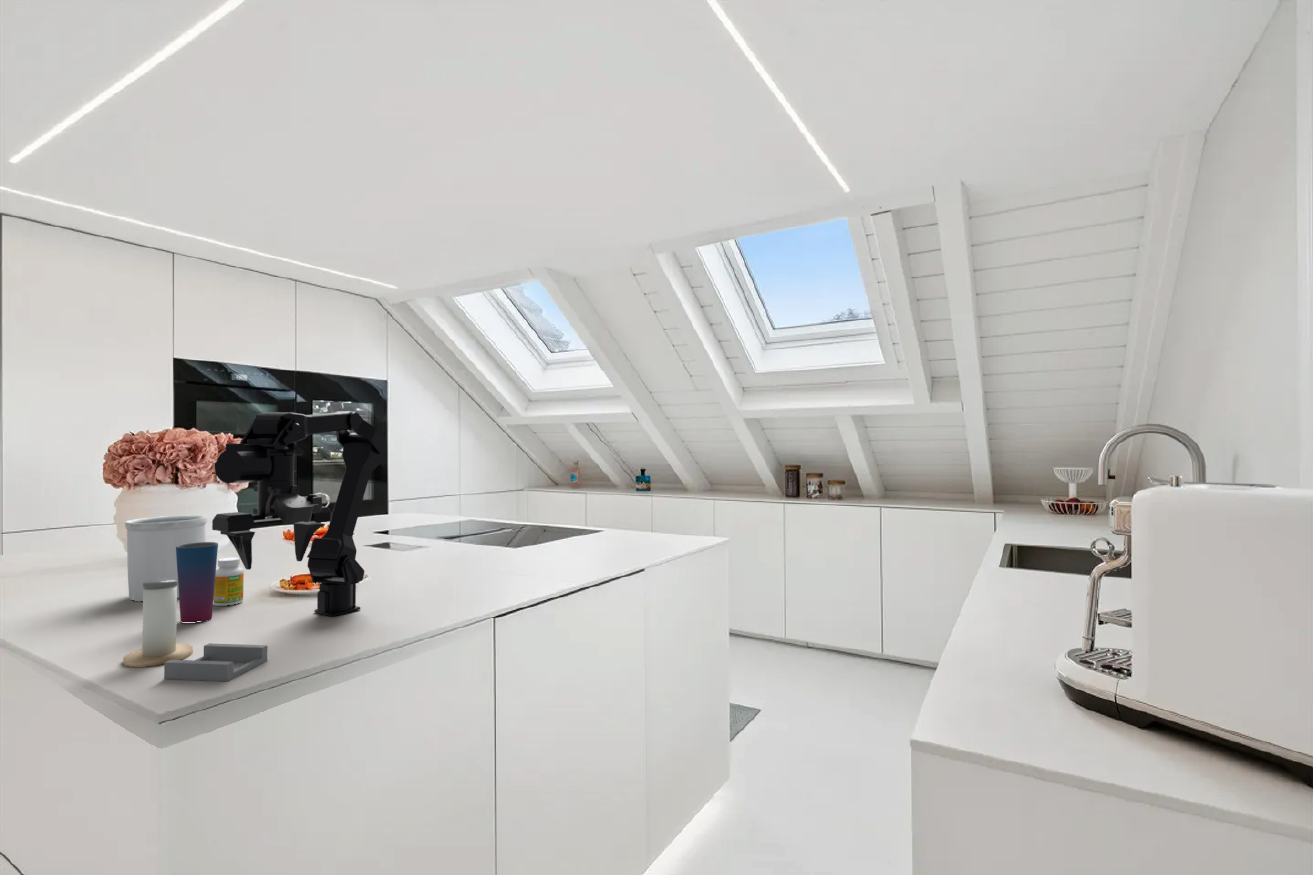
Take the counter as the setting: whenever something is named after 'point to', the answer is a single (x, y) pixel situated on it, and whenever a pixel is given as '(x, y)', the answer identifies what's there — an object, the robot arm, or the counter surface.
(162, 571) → the utensil holder
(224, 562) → the supplement bottle
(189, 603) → the cup
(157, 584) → the white jar with lid
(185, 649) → the coaster
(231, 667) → the socket frame
